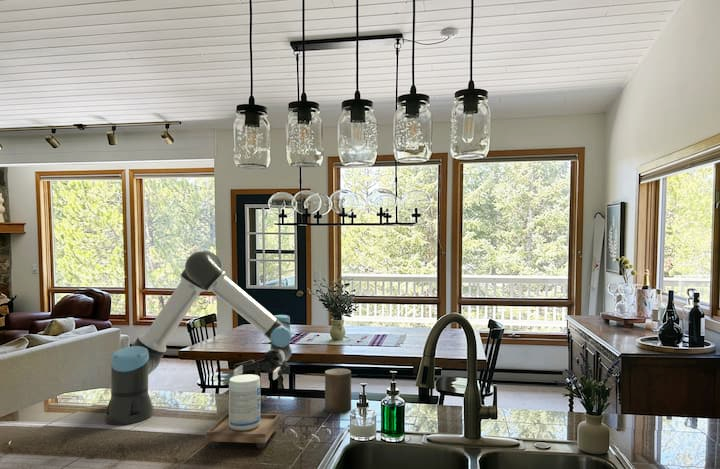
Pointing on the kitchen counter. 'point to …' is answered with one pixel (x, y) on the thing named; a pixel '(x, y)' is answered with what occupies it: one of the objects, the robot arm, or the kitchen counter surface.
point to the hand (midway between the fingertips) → (254, 375)
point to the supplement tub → (244, 402)
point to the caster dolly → (256, 435)
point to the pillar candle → (338, 390)
